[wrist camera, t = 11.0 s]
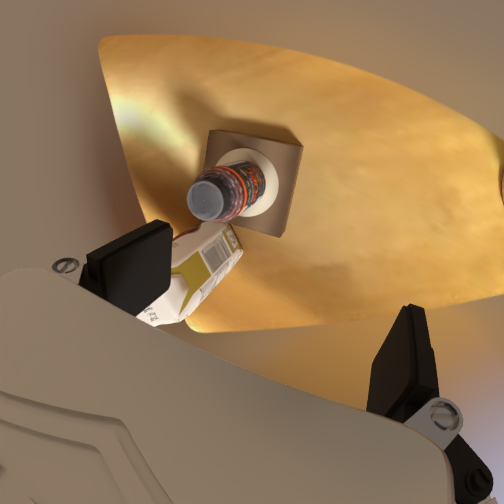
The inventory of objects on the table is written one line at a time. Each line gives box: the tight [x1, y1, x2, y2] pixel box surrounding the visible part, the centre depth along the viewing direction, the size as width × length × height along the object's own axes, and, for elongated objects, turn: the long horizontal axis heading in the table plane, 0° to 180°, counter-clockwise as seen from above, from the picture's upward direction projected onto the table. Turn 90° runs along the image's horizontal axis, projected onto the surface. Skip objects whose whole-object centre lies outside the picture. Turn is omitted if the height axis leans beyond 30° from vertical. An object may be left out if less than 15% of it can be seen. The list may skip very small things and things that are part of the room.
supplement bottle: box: [187, 160, 266, 222], centre depth 33 cm, size 6×6×11 cm
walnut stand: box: [204, 130, 303, 238], centre depth 40 cm, size 12×12×3 cm
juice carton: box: [136, 221, 243, 327], centre depth 38 cm, size 8×9×19 cm
